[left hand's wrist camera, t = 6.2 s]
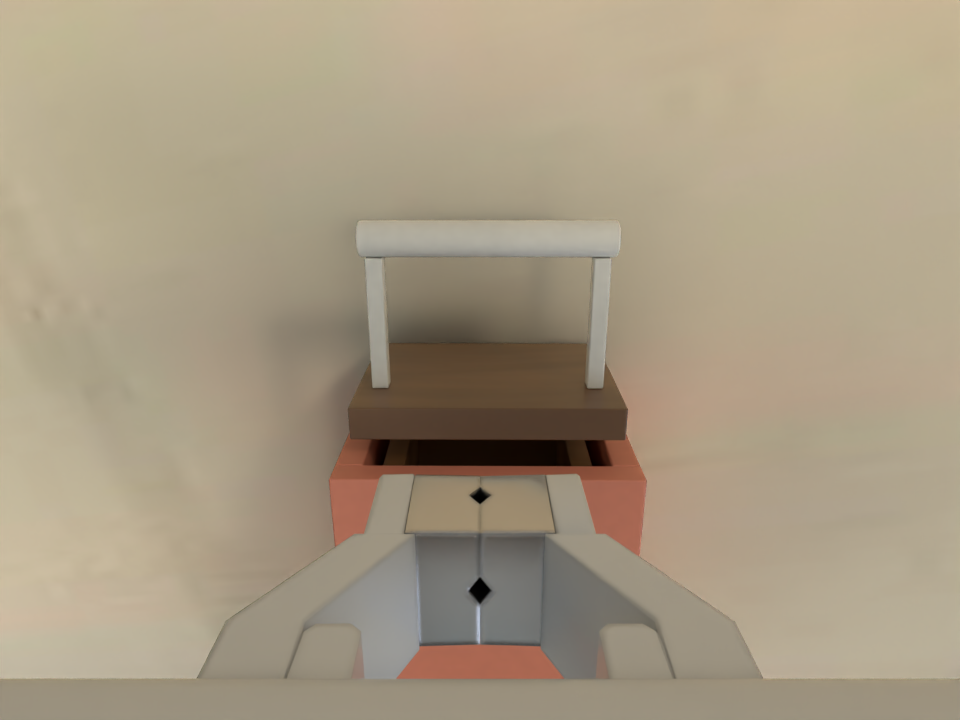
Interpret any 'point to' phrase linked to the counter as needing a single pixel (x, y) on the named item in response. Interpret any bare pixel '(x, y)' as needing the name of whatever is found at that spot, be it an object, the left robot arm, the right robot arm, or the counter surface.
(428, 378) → the drawer
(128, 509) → the counter surface
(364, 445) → the tall pink open box
